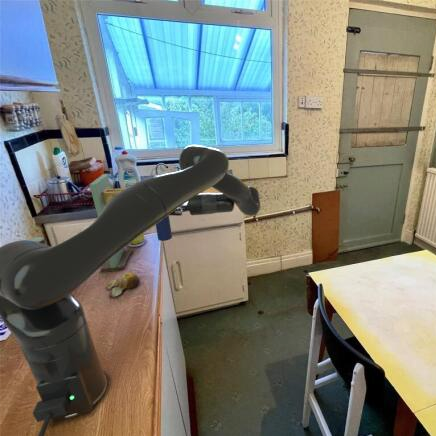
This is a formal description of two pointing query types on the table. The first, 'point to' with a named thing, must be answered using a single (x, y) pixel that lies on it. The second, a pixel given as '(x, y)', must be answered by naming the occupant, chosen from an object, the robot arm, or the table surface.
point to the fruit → (124, 283)
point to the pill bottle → (138, 241)
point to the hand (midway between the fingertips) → (151, 207)
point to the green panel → (101, 198)
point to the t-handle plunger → (164, 228)
